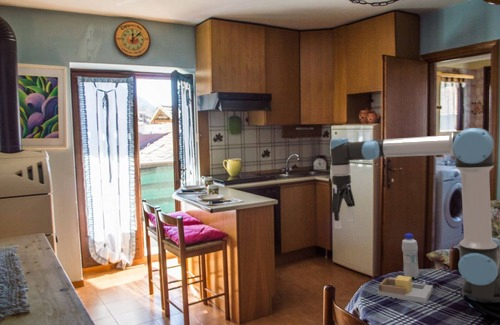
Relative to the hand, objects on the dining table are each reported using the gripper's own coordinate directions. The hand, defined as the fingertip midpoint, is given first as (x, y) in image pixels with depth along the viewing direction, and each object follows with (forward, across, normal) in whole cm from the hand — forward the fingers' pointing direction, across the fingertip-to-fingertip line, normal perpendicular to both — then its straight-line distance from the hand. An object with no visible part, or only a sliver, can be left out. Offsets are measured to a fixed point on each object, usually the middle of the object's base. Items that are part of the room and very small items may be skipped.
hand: (344, 224), depth 168 cm
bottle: (+28, -24, +20) cm, 42 cm away
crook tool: (+26, -10, +18) cm, 33 cm away
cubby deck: (+28, -6, +22) cm, 36 cm away
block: (+26, -3, +22) cm, 34 cm away
